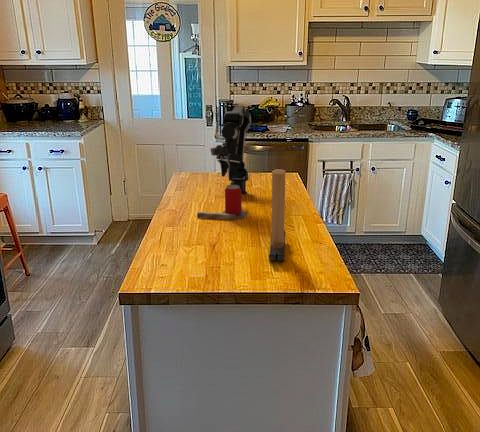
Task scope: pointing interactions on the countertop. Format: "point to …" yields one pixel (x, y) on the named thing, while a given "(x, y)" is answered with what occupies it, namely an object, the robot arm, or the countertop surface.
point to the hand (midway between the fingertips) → (226, 177)
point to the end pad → (240, 216)
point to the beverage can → (233, 200)
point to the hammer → (278, 216)
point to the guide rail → (216, 215)
